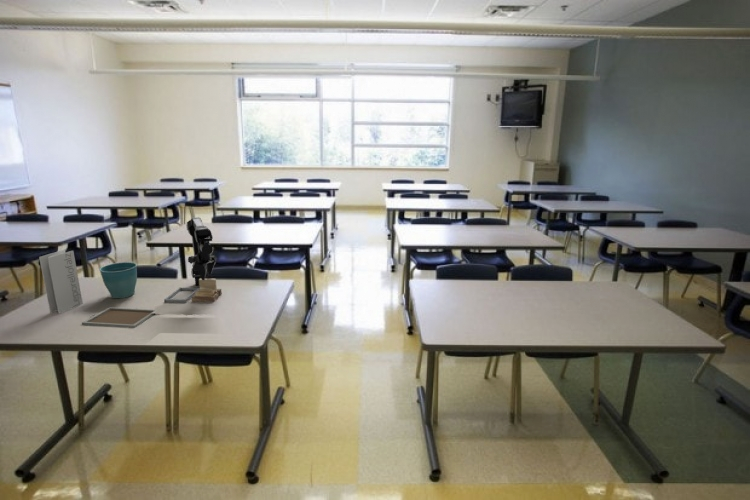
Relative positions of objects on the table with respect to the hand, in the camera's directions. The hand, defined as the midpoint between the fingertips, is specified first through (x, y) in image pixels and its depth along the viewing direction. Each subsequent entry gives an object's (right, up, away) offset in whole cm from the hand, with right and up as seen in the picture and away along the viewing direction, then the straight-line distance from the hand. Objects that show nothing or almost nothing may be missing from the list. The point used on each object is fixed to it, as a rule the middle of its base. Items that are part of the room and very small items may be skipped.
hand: (206, 277), depth 237 cm
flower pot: (-51, -11, +7) cm, 53 cm away
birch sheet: (0, -11, +3) cm, 11 cm away
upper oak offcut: (0, -10, -2) cm, 10 cm away
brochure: (-69, -16, -13) cm, 72 cm away
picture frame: (-35, -20, -23) cm, 46 cm away
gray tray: (-14, -12, +3) cm, 19 cm away
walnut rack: (0, -13, +1) cm, 13 cm away
